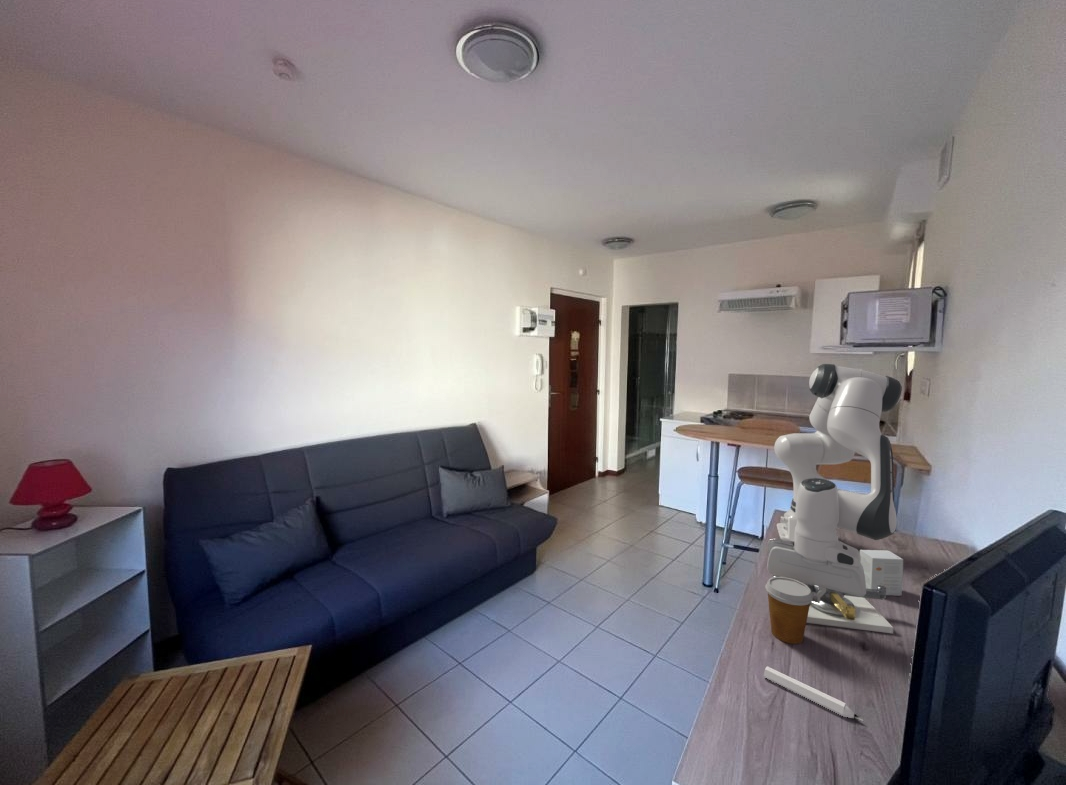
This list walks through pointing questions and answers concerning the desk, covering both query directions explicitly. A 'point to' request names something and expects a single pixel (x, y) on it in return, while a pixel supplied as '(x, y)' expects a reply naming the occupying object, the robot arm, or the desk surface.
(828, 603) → the capstan
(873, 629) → the stand
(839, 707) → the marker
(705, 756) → the desk surface
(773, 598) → the disposable coffee cup
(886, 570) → the small box
